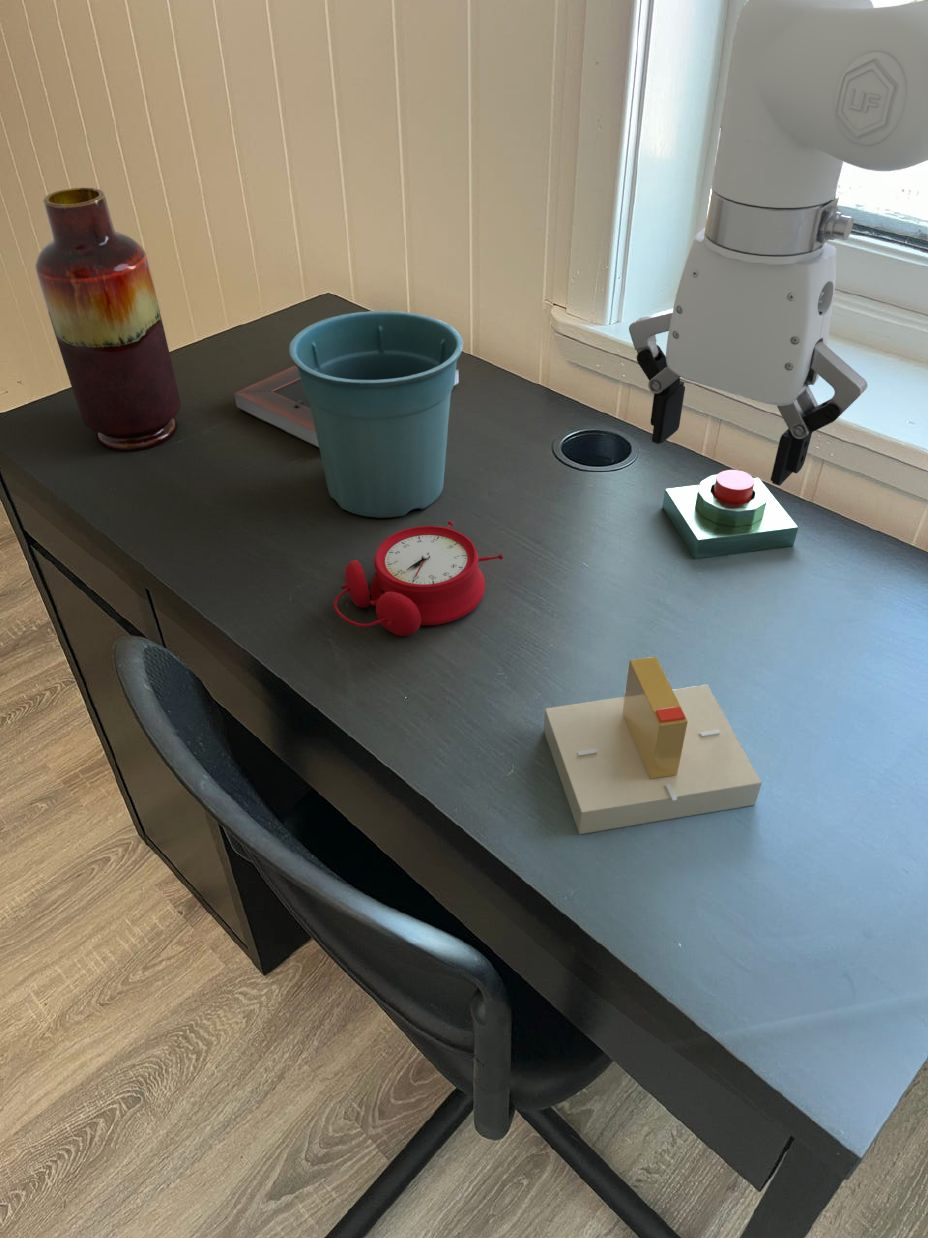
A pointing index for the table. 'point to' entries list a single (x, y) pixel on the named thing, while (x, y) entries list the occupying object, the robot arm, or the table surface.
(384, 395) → the flower pot
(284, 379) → the picture frame
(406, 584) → the alarm clock
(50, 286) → the vase
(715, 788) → the dial base plate
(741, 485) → the button
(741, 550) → the button block
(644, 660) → the tan block
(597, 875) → the table surface
